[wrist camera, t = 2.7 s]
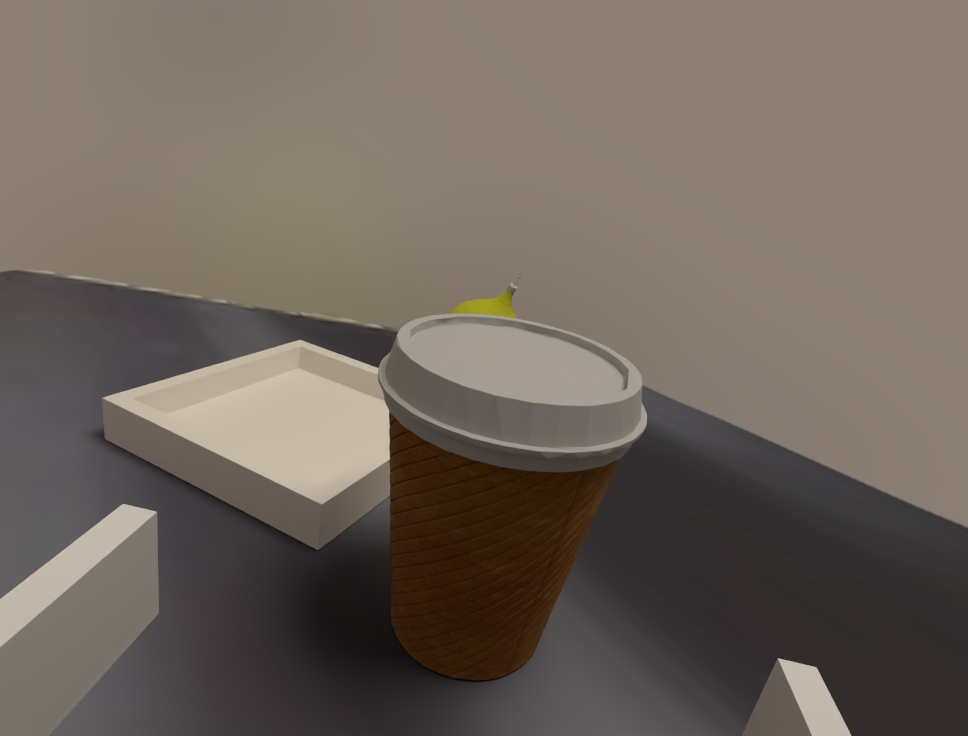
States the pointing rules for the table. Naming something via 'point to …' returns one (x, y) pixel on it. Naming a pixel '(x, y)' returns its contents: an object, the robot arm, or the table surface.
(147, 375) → the table surface
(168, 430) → the square tray
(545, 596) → the disposable coffee cup
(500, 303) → the ornament
